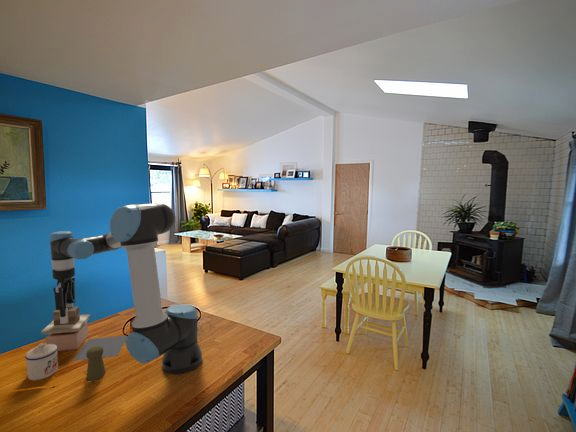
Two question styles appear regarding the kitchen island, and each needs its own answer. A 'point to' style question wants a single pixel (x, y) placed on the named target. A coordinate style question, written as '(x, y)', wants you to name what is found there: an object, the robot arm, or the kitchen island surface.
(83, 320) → the lid
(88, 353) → the olive green rounded column
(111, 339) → the mat
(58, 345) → the pink open box
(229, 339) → the kitchen island surface
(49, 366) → the white lidded canister
